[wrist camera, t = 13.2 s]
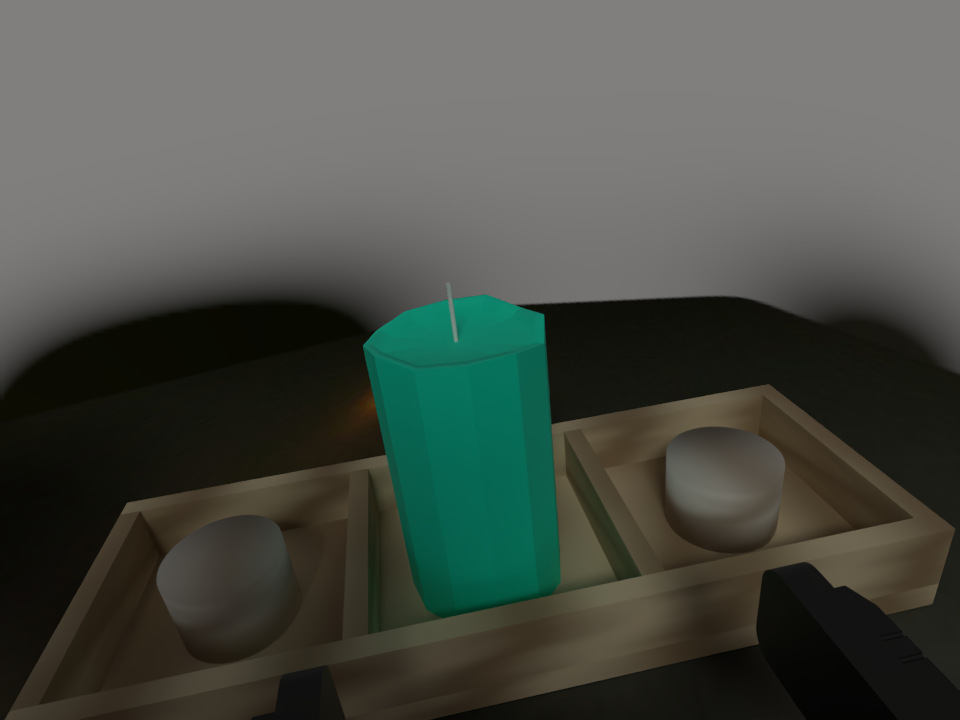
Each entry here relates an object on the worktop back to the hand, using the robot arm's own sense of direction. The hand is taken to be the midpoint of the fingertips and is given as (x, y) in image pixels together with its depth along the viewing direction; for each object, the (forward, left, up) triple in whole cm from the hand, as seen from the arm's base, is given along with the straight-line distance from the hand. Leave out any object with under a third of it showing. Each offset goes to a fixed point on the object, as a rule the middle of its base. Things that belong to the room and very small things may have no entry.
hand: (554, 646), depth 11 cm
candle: (-7, +8, -9) cm, 14 cm away
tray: (-7, +8, -9) cm, 15 cm away
